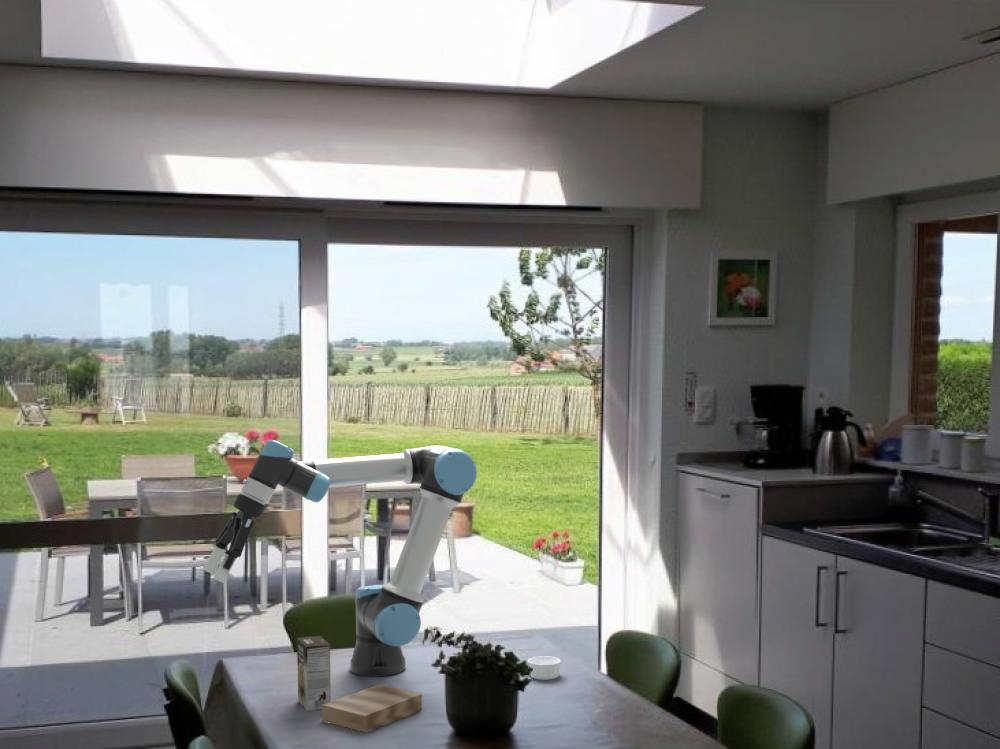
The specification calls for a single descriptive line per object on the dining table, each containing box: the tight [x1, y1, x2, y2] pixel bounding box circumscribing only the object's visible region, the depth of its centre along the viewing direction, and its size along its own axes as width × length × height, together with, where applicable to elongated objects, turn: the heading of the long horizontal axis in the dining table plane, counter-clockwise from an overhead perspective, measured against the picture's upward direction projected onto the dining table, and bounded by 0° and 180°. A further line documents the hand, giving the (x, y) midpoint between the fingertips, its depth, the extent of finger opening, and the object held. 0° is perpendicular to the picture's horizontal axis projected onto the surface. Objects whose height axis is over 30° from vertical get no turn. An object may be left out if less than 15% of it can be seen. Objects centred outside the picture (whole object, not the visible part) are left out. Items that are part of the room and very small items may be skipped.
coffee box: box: [296, 635, 332, 711], centre depth 298 cm, size 9×6×16 cm
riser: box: [321, 683, 423, 733], centre depth 289 cm, size 20×14×4 cm
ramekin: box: [527, 655, 562, 681], centre depth 320 cm, size 9×9×4 cm
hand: (213, 576), depth 296 cm, fingers open, 13 cm apart
